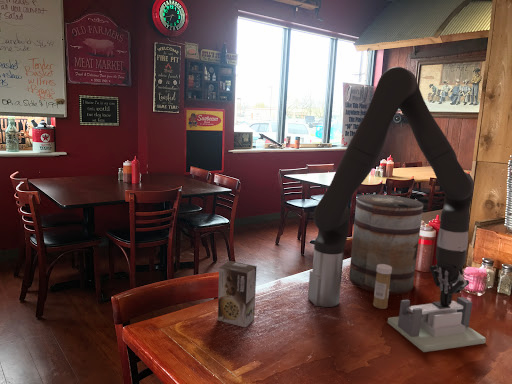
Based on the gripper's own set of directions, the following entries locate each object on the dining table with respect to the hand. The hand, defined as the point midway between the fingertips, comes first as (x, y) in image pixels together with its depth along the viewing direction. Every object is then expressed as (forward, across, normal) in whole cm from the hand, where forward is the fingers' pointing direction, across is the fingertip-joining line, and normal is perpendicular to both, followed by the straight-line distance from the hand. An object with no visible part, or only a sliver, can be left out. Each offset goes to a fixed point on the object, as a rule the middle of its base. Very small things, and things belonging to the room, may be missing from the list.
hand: (445, 304), depth 120 cm
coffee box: (+7, -19, -55) cm, 59 cm away
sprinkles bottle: (+8, -18, -8) cm, 22 cm away
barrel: (+8, -36, +4) cm, 38 cm away
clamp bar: (+1, 0, -3) cm, 3 cm away
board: (+8, 0, -2) cm, 9 cm away
